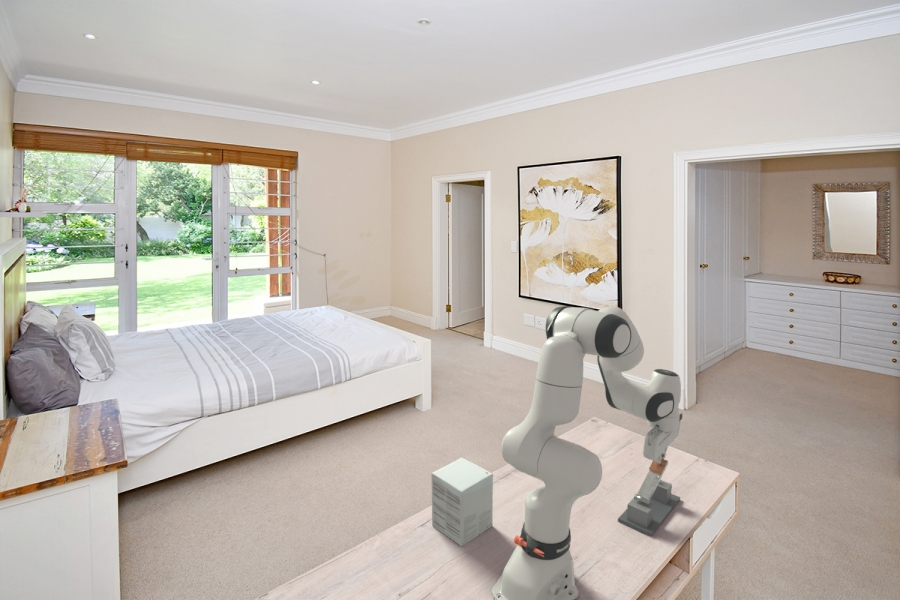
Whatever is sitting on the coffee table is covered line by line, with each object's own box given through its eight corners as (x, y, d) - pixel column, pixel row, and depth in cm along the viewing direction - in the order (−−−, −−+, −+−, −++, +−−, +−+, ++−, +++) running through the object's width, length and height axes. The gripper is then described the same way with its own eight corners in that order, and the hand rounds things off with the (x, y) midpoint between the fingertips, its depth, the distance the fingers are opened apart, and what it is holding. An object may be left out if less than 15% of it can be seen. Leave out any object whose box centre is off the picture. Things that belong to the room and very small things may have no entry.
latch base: (651, 537, 136) (653, 509, 134) (617, 521, 143) (619, 494, 141) (680, 500, 153) (682, 474, 151) (649, 487, 160) (651, 463, 158)
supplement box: (462, 506, 151) (462, 456, 147) (493, 526, 141) (493, 473, 138) (431, 525, 142) (430, 472, 138) (461, 547, 132) (461, 492, 129)
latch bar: (648, 506, 140) (648, 502, 139) (634, 500, 143) (633, 495, 142) (669, 464, 149) (669, 459, 148) (655, 459, 152) (654, 454, 151)
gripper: (660, 436, 136) (657, 478, 139) (684, 411, 150) (681, 450, 153) (638, 429, 140) (636, 470, 143) (664, 405, 155) (661, 444, 158)
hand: (660, 460), depth 148 cm, fingers closed
